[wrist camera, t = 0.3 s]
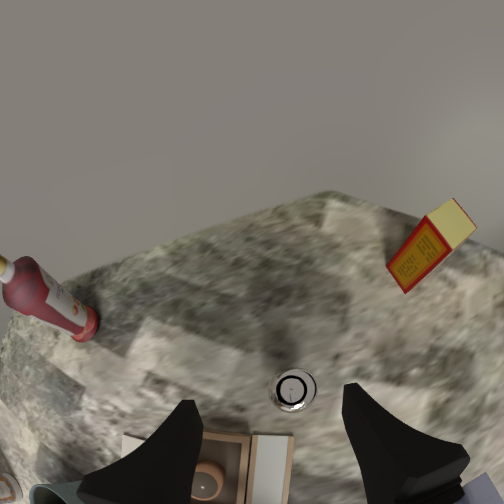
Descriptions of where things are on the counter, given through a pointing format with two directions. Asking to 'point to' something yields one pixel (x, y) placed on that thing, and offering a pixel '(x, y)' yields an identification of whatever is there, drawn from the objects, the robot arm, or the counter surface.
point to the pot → (207, 480)
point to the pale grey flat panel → (270, 469)
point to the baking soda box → (430, 244)
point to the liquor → (45, 299)
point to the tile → (129, 444)
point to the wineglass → (292, 390)
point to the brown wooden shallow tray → (227, 463)
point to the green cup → (55, 493)
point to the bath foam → (9, 489)
